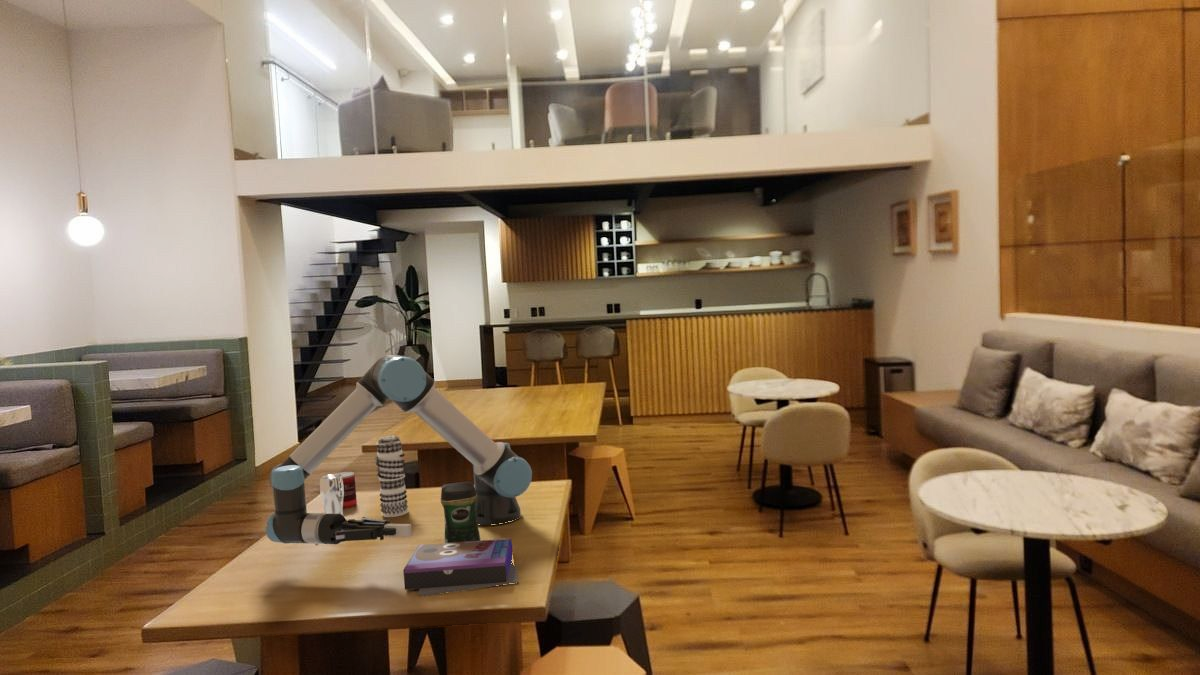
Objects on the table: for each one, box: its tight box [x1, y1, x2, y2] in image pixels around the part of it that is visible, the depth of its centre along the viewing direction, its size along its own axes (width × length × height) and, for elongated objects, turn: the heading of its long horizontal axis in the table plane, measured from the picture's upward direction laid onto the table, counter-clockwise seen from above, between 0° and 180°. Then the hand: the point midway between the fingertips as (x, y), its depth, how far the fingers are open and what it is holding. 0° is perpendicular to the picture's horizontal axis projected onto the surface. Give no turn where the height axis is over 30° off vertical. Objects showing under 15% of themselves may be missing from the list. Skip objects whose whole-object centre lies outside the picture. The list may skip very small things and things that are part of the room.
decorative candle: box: [375, 435, 409, 518], centre depth 243 cm, size 9×9×25 cm
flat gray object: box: [417, 561, 519, 597], centre depth 186 cm, size 23×22×1 cm
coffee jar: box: [440, 480, 481, 543], centre depth 203 cm, size 10×8×19 cm
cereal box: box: [403, 538, 514, 591], centre depth 185 cm, size 17×5×24 cm
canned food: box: [335, 471, 358, 510], centre depth 256 cm, size 8×8×11 cm
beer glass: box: [319, 473, 345, 517], centre depth 236 cm, size 7×7×15 cm
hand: (409, 530), depth 184 cm, fingers closed
